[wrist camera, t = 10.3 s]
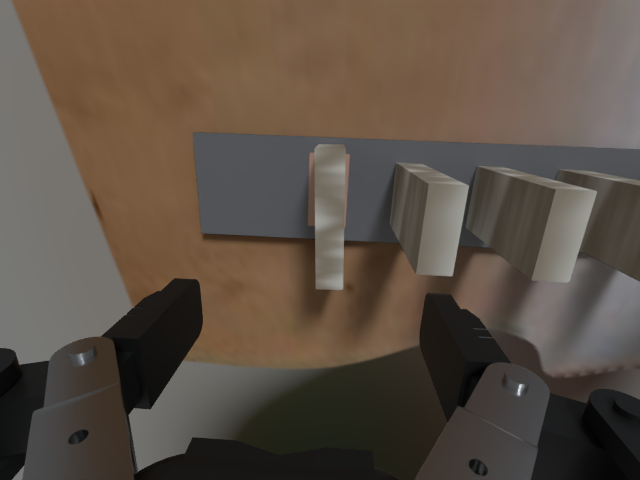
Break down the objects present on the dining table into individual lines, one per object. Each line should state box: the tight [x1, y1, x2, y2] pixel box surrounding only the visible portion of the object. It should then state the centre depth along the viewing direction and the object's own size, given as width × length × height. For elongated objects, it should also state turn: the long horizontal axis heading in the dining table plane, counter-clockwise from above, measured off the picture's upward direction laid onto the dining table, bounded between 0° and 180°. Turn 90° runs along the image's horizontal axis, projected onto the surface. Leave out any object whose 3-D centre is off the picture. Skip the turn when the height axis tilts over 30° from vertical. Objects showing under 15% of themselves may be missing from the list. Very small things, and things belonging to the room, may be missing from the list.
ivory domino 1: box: [390, 163, 469, 276], centre depth 27 cm, size 2×6×12 cm, turn 178°
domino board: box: [193, 132, 640, 252], centre depth 33 cm, size 48×10×1 cm, turn 88°
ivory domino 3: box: [556, 169, 640, 281], centre depth 26 cm, size 2×6×12 cm, turn 178°
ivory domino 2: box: [466, 166, 597, 283], centre depth 26 cm, size 2×6×12 cm, turn 178°
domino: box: [314, 144, 346, 290], centre depth 30 cm, size 2×6×12 cm
